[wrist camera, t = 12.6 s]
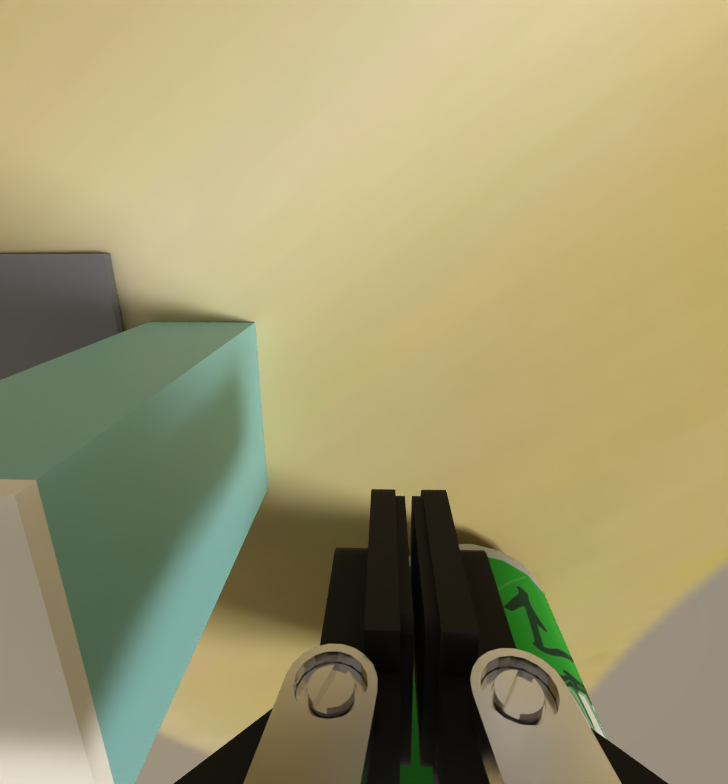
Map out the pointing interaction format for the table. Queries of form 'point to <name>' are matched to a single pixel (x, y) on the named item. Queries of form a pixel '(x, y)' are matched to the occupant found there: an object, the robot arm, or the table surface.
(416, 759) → the soda can
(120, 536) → the teal block
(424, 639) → the robot arm
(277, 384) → the table surface
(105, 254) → the rubber mat
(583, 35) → the table surface
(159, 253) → the table surface
